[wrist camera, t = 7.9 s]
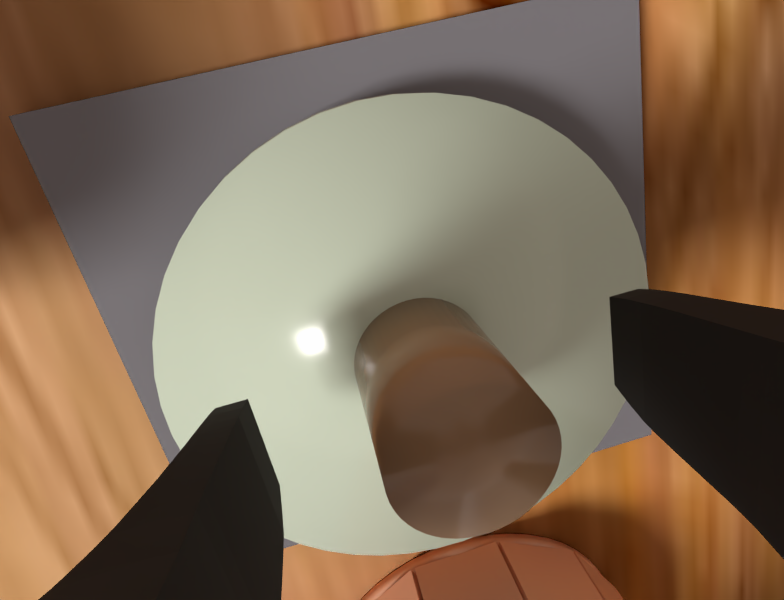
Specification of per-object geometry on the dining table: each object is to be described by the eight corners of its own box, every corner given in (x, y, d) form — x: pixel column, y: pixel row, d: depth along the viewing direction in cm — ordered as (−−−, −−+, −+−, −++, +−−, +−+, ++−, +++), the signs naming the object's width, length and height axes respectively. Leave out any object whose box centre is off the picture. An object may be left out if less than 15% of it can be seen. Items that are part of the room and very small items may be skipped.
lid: (257, 563, 16) (247, 782, 11) (79, 168, 12) (-82, 227, 6) (624, 443, 17) (770, 591, 12) (596, 37, 13) (810, -1, 8)
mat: (220, 552, 17) (218, 568, 16) (22, 115, 12) (9, 115, 11) (640, 424, 18) (651, 434, 17) (623, -19, 13) (638, -24, 12)
